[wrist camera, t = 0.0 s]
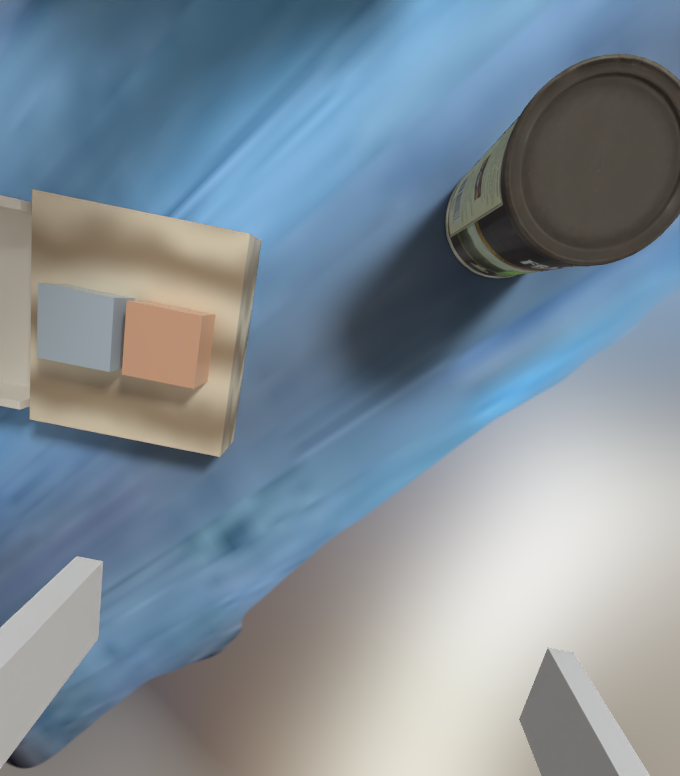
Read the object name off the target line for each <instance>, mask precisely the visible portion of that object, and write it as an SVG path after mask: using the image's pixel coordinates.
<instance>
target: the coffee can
mask: <svg viewBox="0 0 680 776" xmlns="http://www.w3.org/2000/svg"><path fill="white" fill-rule="evenodd" d="M679 214H680V80H679V79H678V78H677V77H676V76H674V75H673V74H672V73H671V72H670V71H669V70H667V69H666V68H664V67H663V66H662V65H660V64H658V63H656V62H654V61H651V60H649V59H646V58H643V57H639V56H635V55H628V54H611V55H603V56H597V57H593V58H590V59H587V60H584V61H581V62H579V63H577V64H574V65H572V66H570V67H569V68H567V69H565V70H564V71H562V72H561V73H559V74H558V75H556V76H555V77H554V78H553V79H551V80H550V81H549V82H548V83H547V84H546V85H544V86H543V87H542V88H541V89H540V90H539V91H538V92H537V94H536V95H535V96H534V97H533V98H532V100H531V101H530V102H529V103H528V105H527V106H526V107H525V109H524V110H523V112H522V113H521V115H520V116H519V117H518V118H517V120H516V121H515V122H514V123H513V124H512V125H511V126H510V127H509V128H508V129H507V130H506V131H505V132H504V134H503V135H502V136H501V137H500V138H499V139H498V140H497V142H496V143H495V144H494V145H493V146H492V147H491V148H490V149H489V150H488V151H487V152H486V153H485V155H484V156H483V157H482V158H481V159H480V160H479V161H478V162H477V163H476V164H475V166H474V167H473V168H472V169H471V170H470V171H468V172H467V173H466V174H465V175H464V176H463V178H462V179H461V180H460V181H459V183H458V184H457V186H456V187H455V189H454V190H453V193H452V195H451V198H450V200H449V203H448V207H447V212H446V233H447V239H448V242H449V244H450V247H451V249H452V251H453V253H454V254H455V256H456V257H457V259H458V260H459V261H460V262H461V263H462V264H463V265H464V266H465V267H466V268H468V269H469V270H471V271H472V272H474V273H476V274H479V275H481V276H485V277H490V278H506V277H512V276H516V275H520V274H526V273H533V272H539V271H546V270H554V269H560V268H566V267H573V266H594V265H603V264H608V263H612V262H615V261H618V260H622V259H624V258H626V257H629V256H631V255H633V254H635V253H637V252H639V251H640V250H642V249H643V248H645V247H646V246H648V245H649V244H651V243H652V242H653V241H655V240H656V239H657V238H658V237H659V236H660V235H661V234H663V232H664V231H665V230H666V229H667V228H668V227H669V226H670V225H671V224H672V223H673V221H674V220H675V219H676V218H677V217H678V215H679Z"/></svg>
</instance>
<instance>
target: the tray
mask: <svg viewBox="0 0 680 776" xmlns="http://www.w3.org/2000/svg"><path fill="white" fill-rule="evenodd" d="M31 246H32V203H31V202H28V201H25V200H21V199H16V198H12V197H7V196H2V195H0V406H4V407H9V408H14V409H19V410H21V409H24V408H27V407H30V345H31Z"/></svg>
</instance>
